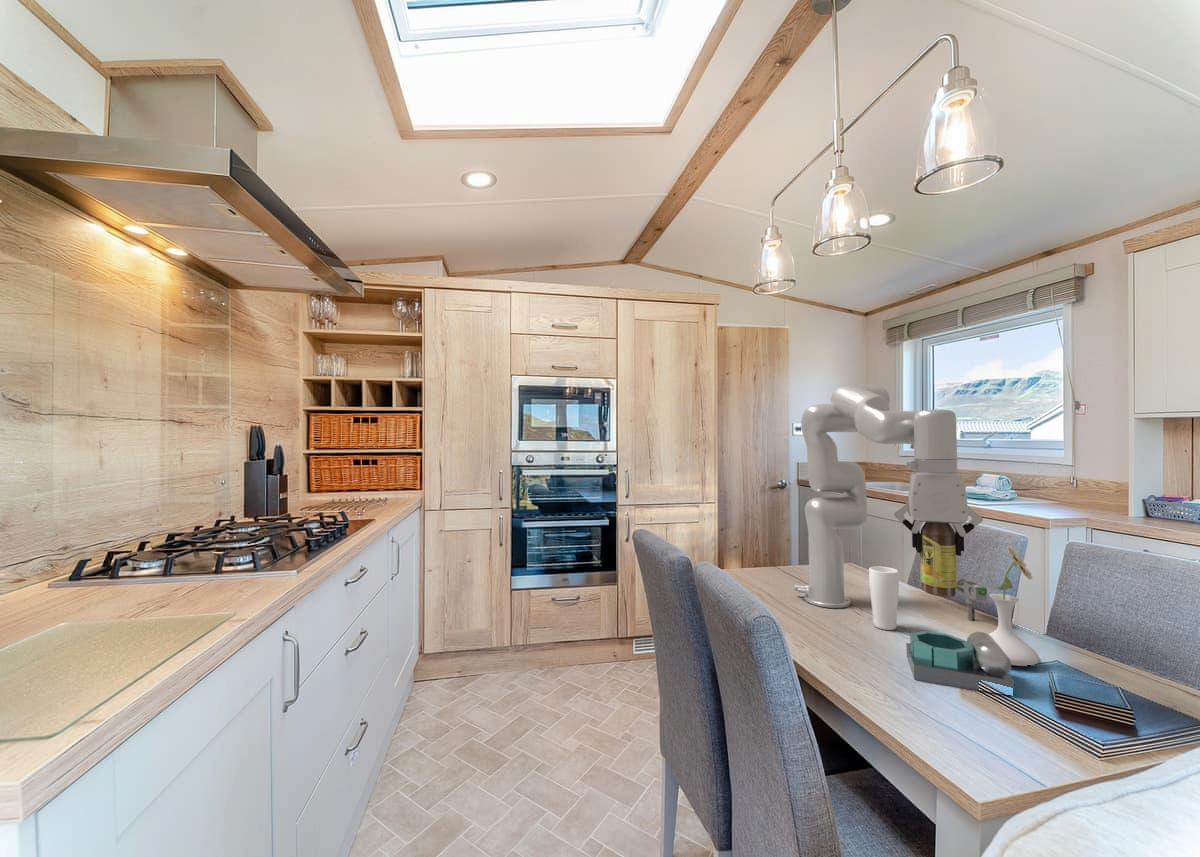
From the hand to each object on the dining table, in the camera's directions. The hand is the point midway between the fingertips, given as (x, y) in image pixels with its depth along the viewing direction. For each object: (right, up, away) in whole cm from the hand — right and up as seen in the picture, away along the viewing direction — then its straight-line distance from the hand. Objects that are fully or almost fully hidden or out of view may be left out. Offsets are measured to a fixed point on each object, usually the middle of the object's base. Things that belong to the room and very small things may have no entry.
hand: (937, 552), depth 103 cm
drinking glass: (+3, -26, +24) cm, 36 cm away
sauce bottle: (0, -9, 0) cm, 9 cm away
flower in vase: (+19, -25, +5) cm, 32 cm away
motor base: (+2, -25, -2) cm, 25 cm away
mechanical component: (+29, -26, +29) cm, 49 cm away
